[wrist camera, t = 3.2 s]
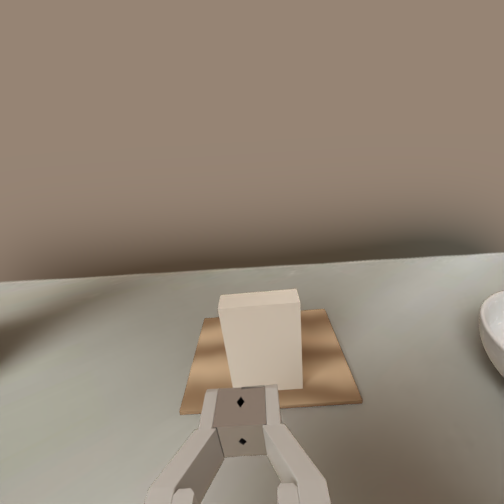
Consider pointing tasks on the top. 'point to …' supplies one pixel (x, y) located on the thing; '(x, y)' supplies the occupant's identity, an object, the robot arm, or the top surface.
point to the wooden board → (313, 393)
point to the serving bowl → (493, 329)
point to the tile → (263, 338)
